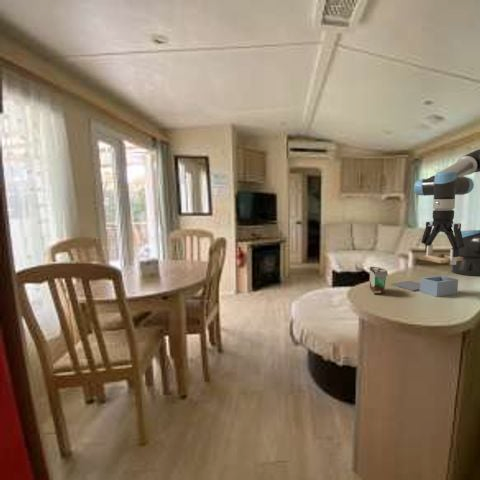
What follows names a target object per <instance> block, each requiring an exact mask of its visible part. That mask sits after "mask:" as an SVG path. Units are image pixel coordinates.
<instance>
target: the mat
mask: <svg viewBox="0 0 480 480" xmlns="http://www.w3.org/2000/svg"><path fill="white" fill-rule="evenodd" d="M390 284H391V286H395V287H397V286H398V288H402V289H403V290H407V289H408V291H411V292H417V291H420V282H417V281H416V282H415V281H412V280H406V281H399V282H393V283H390Z"/></svg>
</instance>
